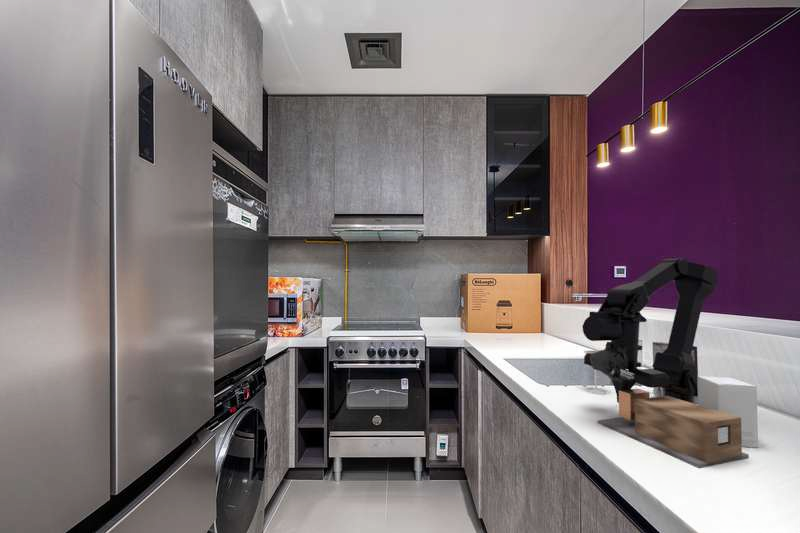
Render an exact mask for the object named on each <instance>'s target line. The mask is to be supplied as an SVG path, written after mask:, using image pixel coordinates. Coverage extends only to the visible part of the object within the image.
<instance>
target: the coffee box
mask: <svg viewBox="0 0 800 533" xmlns="http://www.w3.org/2000/svg"><path fill="white" fill-rule="evenodd" d="M668 343H669V342H662V341H661V342H660V341H659V342H658V341H657V342H656V341H654V342H652V365H653V364H654V361H655V355H656V353H657V352H661V353H662V352H663V351H665V350H666V349H667V347H668ZM691 356H692V358H693V360H694V362H695V364H696V367H697V368H696V376H697V377H698V376H699V368H698V367H699V365H698V364H699V363H698V361H699V360H698V346H694V345H693V348H692V353H691ZM653 368H654V367H652V369H653ZM665 390H666V389H664V388H661V387H654V388H653V395H654V397H660V396H665ZM695 404H697V405H698V397H697V396H695Z"/></svg>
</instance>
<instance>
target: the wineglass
mask: <svg viewBox="0 0 800 533" xmlns="http://www.w3.org/2000/svg"><path fill="white" fill-rule="evenodd" d="M598 351H599V350H584V351H583V353H584V355H583V358H584V357H585V355H586V354H587V353H596V352H598ZM587 366H588V368H591V369H592V370H593V371H594V388H590V389H587V390H586V391H587V392H588V393H591V394H595V395H605V394H606V392H605V391H603V390H600V389H598V372H600V371H599V370H594V369H593V368H592V366H589V365H587Z"/></svg>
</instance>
